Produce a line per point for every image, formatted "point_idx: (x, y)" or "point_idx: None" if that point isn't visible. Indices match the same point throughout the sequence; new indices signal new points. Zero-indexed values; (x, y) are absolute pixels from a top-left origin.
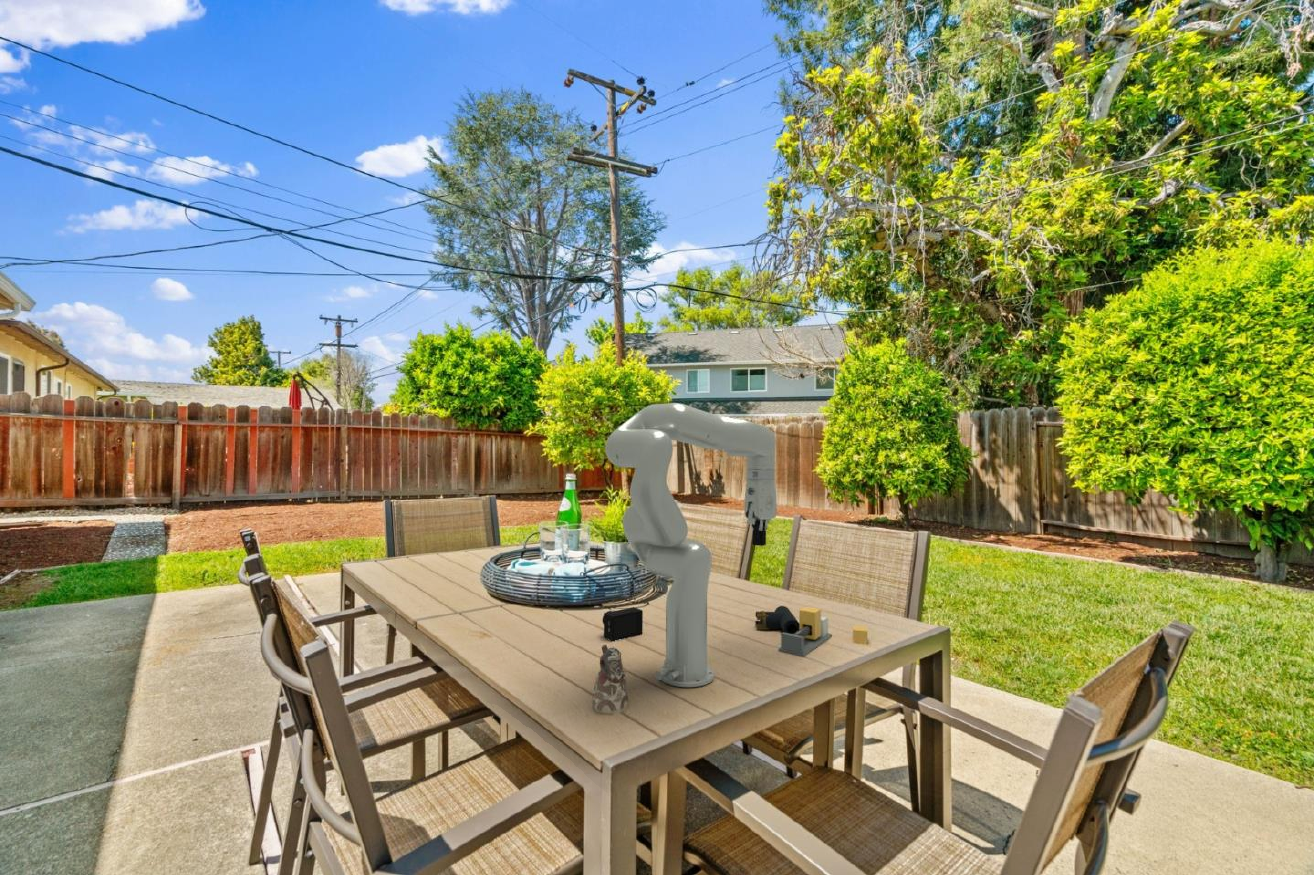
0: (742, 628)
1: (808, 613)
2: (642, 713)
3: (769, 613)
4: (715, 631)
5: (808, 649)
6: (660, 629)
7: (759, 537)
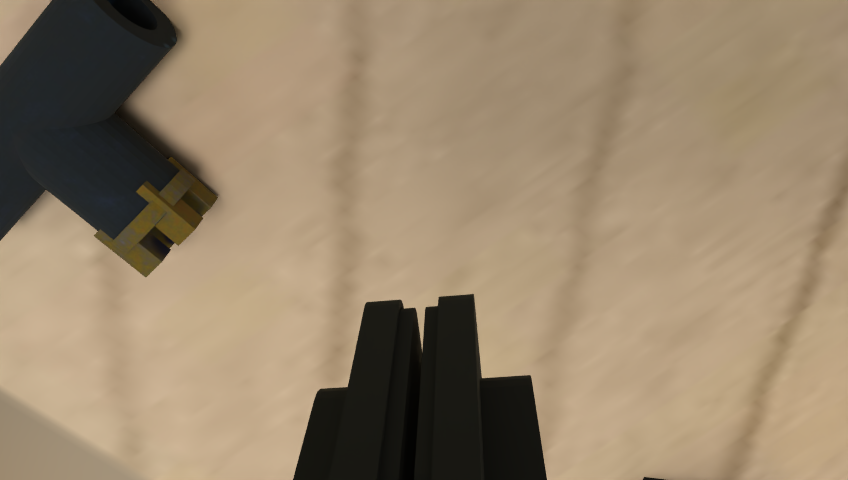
0: (253, 262)
1: None
2: None
3: (118, 196)
4: None
5: None
6: None
7: (523, 429)
